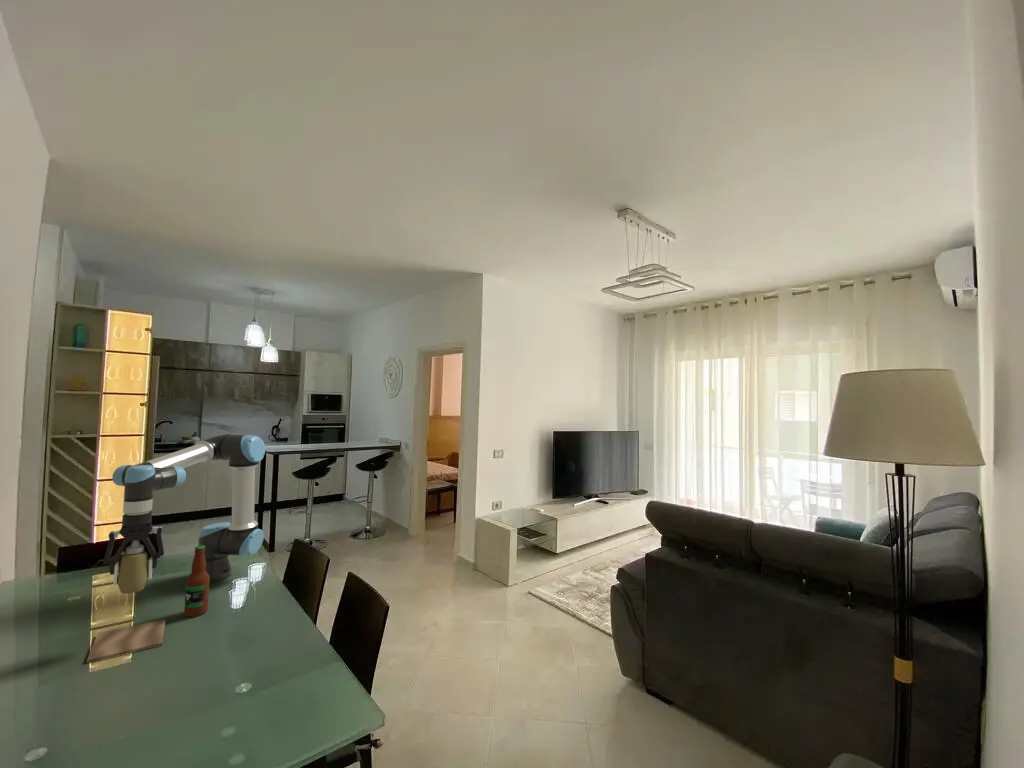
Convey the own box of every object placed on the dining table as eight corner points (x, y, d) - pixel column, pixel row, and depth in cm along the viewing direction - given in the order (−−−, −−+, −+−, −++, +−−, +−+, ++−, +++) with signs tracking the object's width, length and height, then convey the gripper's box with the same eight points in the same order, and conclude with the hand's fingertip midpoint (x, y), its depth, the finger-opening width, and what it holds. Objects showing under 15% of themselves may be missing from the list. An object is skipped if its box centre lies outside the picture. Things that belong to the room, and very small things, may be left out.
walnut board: (165, 621, 158) (165, 619, 158) (162, 645, 144) (162, 642, 144) (97, 636, 148) (97, 633, 148) (86, 663, 133) (87, 660, 133)
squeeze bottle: (154, 586, 150) (157, 533, 150) (131, 596, 142) (135, 540, 142) (133, 584, 150) (136, 531, 151) (109, 594, 142) (113, 539, 143)
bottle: (179, 614, 164) (184, 547, 164) (201, 606, 170) (205, 541, 171) (190, 619, 160) (194, 551, 161) (211, 611, 167) (215, 545, 167)
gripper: (177, 506, 156) (172, 570, 155) (97, 513, 144) (92, 583, 143) (176, 511, 150) (172, 578, 149) (93, 519, 138) (87, 592, 137)
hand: (133, 580), depth 146 cm, fingers closed on squeeze bottle, 8 cm apart
